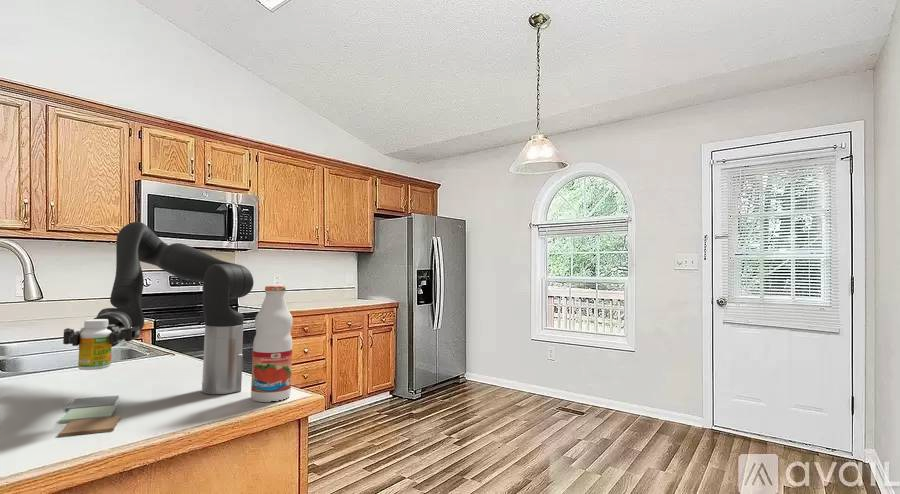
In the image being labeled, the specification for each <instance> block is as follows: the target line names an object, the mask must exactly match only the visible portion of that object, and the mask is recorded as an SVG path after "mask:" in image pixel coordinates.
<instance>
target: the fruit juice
mask: <svg viewBox="0 0 900 494" xmlns="http://www.w3.org/2000/svg"><path fill="white" fill-rule="evenodd" d="M264 292H265V297H264V299H263V302H262V303H261V304H262V305H261V306H260V309H259V311H258V312H257V314H256V316H255V318H254V327H255V336H254V338H253V343H252V359H251V360H252V361H251V363H252V364H251V385H250V387H251V388H250V398H251V400H252V401H254V402H257V401H258V402H259V403H272V402H271V401H276V402H280V401H279V400H281V401H284V400H283V399H285V400H287V399H289V398H290V396H291V393H292V392H291V391H292V389H291V388H292V371H293V370H292V369H293V368H292V367H293V366H292V365H293V347H294V346H293V337H292V334H291V330H292V327H293V324H294V317H293V316H292V314H291V312H290V309H289V307H288V304H287V301H286V297H285V293H286V286H283V285H281V286H280V285H265V287H264ZM288 397H289V398H288ZM286 398H287V399H286Z"/></svg>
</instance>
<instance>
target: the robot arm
mask: <svg viewBox="0 0 900 494" xmlns="http://www.w3.org/2000/svg"><path fill="white" fill-rule="evenodd" d="M115 243H116V244H115V245H116V247H115V248H116V249H115V250H116V255H115V256H116V258H115V261H116V262H115V263H116V265H115V267H116V268H115V275H114V276H115V278H114V282H113V286H112V290H111V292H110V293H111V294H110V298H109V303H110V304H111V306H113V307H108V308H107V307H106V308H103V309H101V310H100V311H99V312H98V313H97V315H96V317H94V318H93V319H108V327H107V329H108V330H110V331H111V333H110V337H109V344H112V348H113V347H115V346H117V345H118V344H120V343H121V342H122V341H123V340H124V342H131V341H134V340H137V339H139V338H140V335H141V333H140V332H141V331H142V330H143V329H144V326H145V316H144V312H143V307H142V296H143V290H144V282H145V280H144V274H143V269H142V266H141V262H142V263H146V264H149V265H152V266H155V267H158V269H161V270H162V271H165V272H166V273H168V274H170V275H173V276H175V277H177V278H179V279H182V280H186V281H191V282H195V283H196V282H197V283H202V299H203V300H202V312H203V316H204V321H205V322H204V342H203V361H202V379H201V381H202V382H201V392H202V393H203V394H205V395H226V394H231V393H235V392H241V391H242V383H243V382H242V380H243V379H242V378H243V377H242V376H243V360H244V359H243V356H244V355H243V340H244V339H243V338H244V337H243V335H244V321H245V320H244V319H245V317H244V314H243V313H242V312H239V311H237V310H235V309H233V308H232V307H231V306H230V299H231V300H232V299H233V300H234V299H238V298H239V299H240V298H244V297H245V296H247V295H249V293H251V291H252V289H253V287H254V278H253V275H252V273H251V271H250V270H249V269H248V268H247V267H245V266H244V265H241V264H236V263H233V262H230V261H229V262H228V261H225V260H222V259H219V258H216V257H215V256H212V255H210V254H209V253H206V252H204V251H201V250H199V249H197V248H195V247H193V246H190V245H187V244H184V243H180V242H179V243H178V242H177V243H176V242H175V243H172V244H167V243H165V241H163V240H161V238H160V237H159V236H158V235H156V233H155V232H154V231H153V230H152V229H150V227H149V226H147V225H146V224H145V223H143V222H141V221H133V222H130V223H127V224H126V225H124V227H122V228H121V229H120V230H119V232H118V234H117V235H116V241H115ZM85 329H86V328H84V327H81V328H80V330H75V329H74V328H73V329H72V328H67V327H66V328H65V329H63V341H62V344H63V345H72V347H76V346H79V337H80V333H81V332H83V331H85Z"/></svg>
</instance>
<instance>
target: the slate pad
mask: <svg viewBox="0 0 900 494" xmlns="http://www.w3.org/2000/svg"><path fill="white" fill-rule="evenodd" d="M119 396H120V395H119V394H118V395H117V394H116V395H108V396H107V395H105V396H95V397H94V396H93V397H81V398H75V399H74V400H72V402H70V404H69V405H68V406H67V407H66V408H65V412H68V411H69V410H70V409H77V408H89V407H100V406H112V405H116V404H115V403H116V402H117V401H118V399H119Z"/></svg>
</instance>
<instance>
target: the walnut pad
mask: <svg viewBox="0 0 900 494" xmlns="http://www.w3.org/2000/svg"><path fill="white" fill-rule="evenodd" d="M120 420H121V415H115V416H113V415H112V416H111V417H102V418H92V419H81V420H71V421H70V422H67V424H66V425H65V426H64V427H63V428H62V429H61V430H60V432H59V433H58V437H59V438H62V437H70V436H79V435H80V436H81V435H87V434H98V433H107V432H114V431H115V428H116V427H117V425H118V423H119V422H120Z"/></svg>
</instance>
